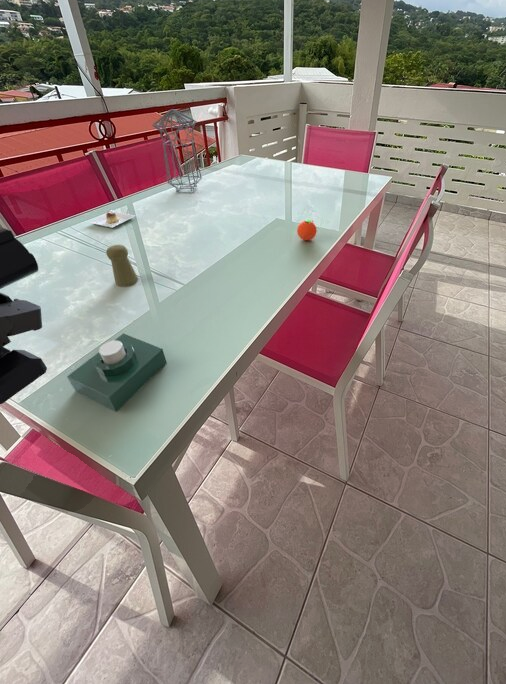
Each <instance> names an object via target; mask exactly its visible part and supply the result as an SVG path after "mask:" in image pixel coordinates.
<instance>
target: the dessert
mask: <svg viewBox="0 0 506 684" xmlns="http://www.w3.org/2000/svg"><path fill="white" fill-rule="evenodd" d="M135 217H136V215H135V214H129V213H125V212H119V211H114V210H111V209H110V210H109V211H107V212H106V213H105V214H103V215H101V216H99V217H96V218H94V219H92V220H90V221H87V223H88V224H92V225H97V226H102V227H107V228H111V229H114V228H116V227H118V226H121V225H122V224H124V223H126V222H128V221H130V220H132V219H133V218H135Z"/></svg>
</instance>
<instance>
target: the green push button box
mask: <svg viewBox="0 0 506 684" xmlns="http://www.w3.org/2000/svg"><path fill="white" fill-rule="evenodd" d="M114 340H117V341H120V342H121V343H122V345H123V347H124V350H125V352H126V356H125V358H124V359H123V360H121V361H120V362H118V363H115V364H112V365H107V364H105V363H104V362H103V360H102V358H101V356H100V353H99V351H98V352H97V353H95V354H94V355H93V356H91V357H90V358H89V359H88V360H86V361H85V362H84V363H82V364H81V365H80V366H78V367H77V368H76V369H75V370H73V371H72V372H71V373H69V374H68V375H67V376H66V378H67V379H68V381H69V382H70V385H71V387H72V388H73V390H74V391H75V392H77V393H78V394H81V396H82V395H83V396H85V397H86V398H87V399H90V400H92V401H94V402H96V403H98V404H100V405H102V406H104V407H106V408H108V409H110V410H112V411H114V412H115V413H116V412H118V411H119V410H120V409H121V408H122V407H123V406H124V405H125V404H126V403H127V402H129V400H130V399H131V398H132V397H134V396H135V394H137V393H138V391H140V390H141V389H142V388H143V387H144V386H145V385H146V384H147V383H148V382H149V381H150V380H151V379H153V377H154V376H155V375H156V374H157V373H158V372H159V371H160V370H161V369H162V368H164V367H165V366H166V365H167V364H168V362H167V359H166V356H165V355H166V354H165V352H164V349H163V348H161V347H159V346H158V345H157V346H156V345H154V344H151V343H149V342H146V341H144V340H141V339H139V338H136V337H134V336H131V335H129V334H126V333H124V332H123V333H122V334H120V335H119V336H118V337H116V338H115V339H114Z"/></svg>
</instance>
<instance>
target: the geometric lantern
mask: <svg viewBox="0 0 506 684" xmlns="http://www.w3.org/2000/svg"><path fill="white" fill-rule="evenodd" d="M173 115H174V117H175V120H173ZM187 119H188V120H187ZM196 123H197V120H195V119H193V118H191V117H190V116H188V115H187V114H184V113H182V112H180V111H179V110H176V109H175V108H171V109H169V110H168V112H166V113H165V114H163V115H162V116H161V117H159V119H157V120H156V121H155V122H154V123H152V125H151V126H152V127H153V128H155V129H156V130H158V131H159V132H160V137H161V142H162V147H163V156H164V162H165V163H164V164H165V172H166V181H167V184H168V185H170V186H172V187H173V188H175V191H176V193H177V194H194V193H195V192H196V190H197V189H198V183H199V182H200V181H201V180H202V179H203V177H202V173H201V169H200V165H199V161H198V156H197V152H196V147H195V143H194V142H195V141H194V140H195V139H194V128H195V125H196ZM168 124H169V125H168ZM176 124H179V125H176ZM166 128H170V130H171V132H170V133H168V132H167V129H166ZM173 129H176V130H175V131H173ZM180 130H181V131H182V130H183V131H184V132H185V134H186V138H185V139H180V138H179V137H178V134H179V132H180ZM186 130H187V131H186ZM163 133H164V135H165V136H164V137H163ZM189 134H191V136H192V138H190V136H189ZM169 135H171V136H172V135H174V138H173V139H171V138H170V137H169ZM166 138H168V140H166ZM176 140H177V141H178V142H179V143H180V144H176ZM182 141H184V143H183V142H182ZM187 141H190V142H189V143H187ZM173 142H174V144H172V143H173ZM186 143H187V144H186ZM190 144H191V148H192V153H193V160H194V165H195V170H196V175H195V174H194V169H193V165H192V160H191V156H190V152H189V148H188V146H189V145H190ZM166 146H170V149H171V150H170V151H171V157H172V164H173V173H174V177H173V178H172V176H171V172H170V164H169V159H168V154H167V149H166ZM173 146H174V149H175V155H176V161H177V166H178V173H179V175H177V173H176V166H175V165H176V164H175V157H174V150H173ZM177 146H178V147H179V146H181V148H182V153H183V159H184V165H185V169H186V170H185V171H186V174H187V175H182V173H181V167H180V161H179V156H178V148H177ZM184 146H185V148H186V151H187V152H186V153H187V156H188V160H189V166H190V169H191V175H190V174H189V169H188V164H187V159H186V158H187V157H186V153H185V148H184ZM178 178H180V181H179V179H178ZM182 178H187V180H188V182H183V179H182ZM190 178H193V182H192V183H191V179H190ZM175 179H176V181H177V183H173V181H174V180H175ZM180 189H181V190H182V189H183V190H186V189H187V190H190V191H179V190H180Z"/></svg>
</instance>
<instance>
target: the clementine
mask: <svg viewBox="0 0 506 684" xmlns="http://www.w3.org/2000/svg"><path fill="white" fill-rule="evenodd" d="M317 230H318V229H317V226H316V224H315V223H314V221H313V220H311V219H307V220H303V221H301V222H300V223H299V224H298V226H297V230H296V233H297V235H298V237H299V238H300V239H301V240H303V241H312V240H313V239H314V238H315V237H316V235H317V232H318V231H317Z"/></svg>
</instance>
